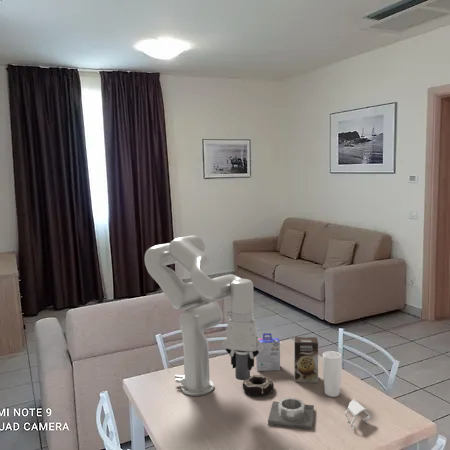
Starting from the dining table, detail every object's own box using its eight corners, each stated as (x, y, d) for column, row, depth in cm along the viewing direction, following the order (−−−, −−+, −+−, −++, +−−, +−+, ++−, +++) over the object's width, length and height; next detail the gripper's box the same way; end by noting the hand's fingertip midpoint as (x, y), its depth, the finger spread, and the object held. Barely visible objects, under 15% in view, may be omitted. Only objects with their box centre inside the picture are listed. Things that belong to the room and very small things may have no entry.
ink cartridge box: (279, 364, 183) (278, 332, 181) (280, 370, 177) (280, 336, 176) (256, 365, 183) (255, 332, 181) (256, 371, 178) (256, 337, 176)
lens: (233, 379, 146) (233, 351, 144) (237, 372, 150) (236, 345, 149) (248, 381, 144) (248, 352, 143) (251, 373, 149) (251, 346, 148)
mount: (268, 424, 139) (267, 411, 139) (273, 405, 151) (272, 393, 150) (312, 429, 136) (312, 416, 135) (313, 409, 147) (313, 397, 147)
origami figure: (375, 430, 135) (375, 415, 134) (349, 431, 135) (349, 416, 134) (362, 409, 147) (362, 395, 146) (338, 410, 147) (338, 396, 146)
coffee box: (294, 382, 167) (294, 342, 165) (294, 375, 173) (293, 336, 172) (318, 383, 166) (318, 342, 164) (317, 375, 172) (316, 336, 170)
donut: (239, 396, 158) (239, 386, 158) (246, 381, 169) (246, 371, 169) (270, 399, 155) (270, 389, 155) (276, 384, 166) (275, 374, 166)
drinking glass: (342, 399, 154) (342, 358, 152) (322, 397, 155) (322, 357, 153) (341, 390, 160) (341, 351, 158) (322, 388, 161) (322, 350, 160)
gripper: (214, 317, 143) (215, 369, 145) (265, 321, 139) (265, 375, 141) (220, 310, 150) (221, 360, 153) (269, 314, 146) (269, 365, 148)
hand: (242, 366), depth 147 cm, fingers closed on lens, 5 cm apart
